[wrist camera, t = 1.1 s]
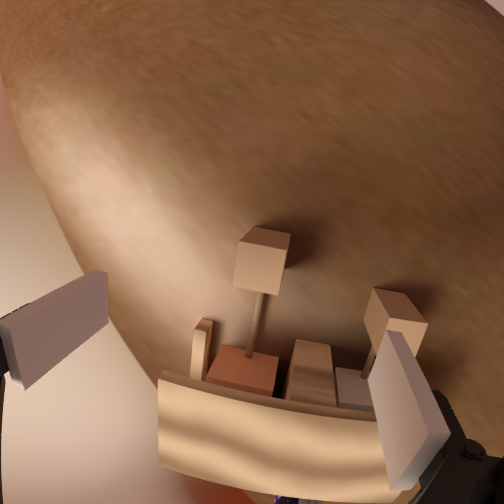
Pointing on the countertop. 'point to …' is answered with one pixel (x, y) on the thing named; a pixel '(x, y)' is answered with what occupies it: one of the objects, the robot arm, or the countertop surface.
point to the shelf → (272, 432)
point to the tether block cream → (378, 344)
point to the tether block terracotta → (263, 281)
